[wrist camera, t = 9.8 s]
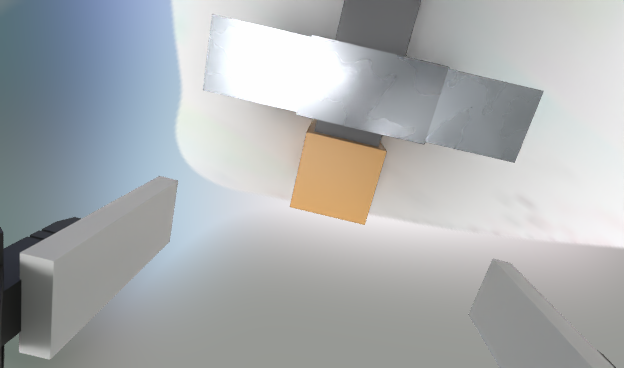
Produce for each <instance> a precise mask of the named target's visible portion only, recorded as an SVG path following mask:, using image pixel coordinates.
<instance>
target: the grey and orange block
mask: <svg viewBox="0 0 624 368" xmlns="http://www.w3.org/2000/svg"><path fill="white" fill-rule="evenodd" d="M420 3H421V0H345V1H344V5H343V9H342V14H341V18H340V22H339V27H338V31H337V35H336V39H335V40H336V41H340V42H344V43H349V44H353V45H357V46H361V47H366V48H370V49H374V50H379V51H383V52H387V53H392V54H396V55H400V56H404V57H405V54H406V51H407V48H408V44H409V41H410V37H411V34H412V30H413V27H414V23H415V20H416V17H417V13H418V10H419V6H420ZM381 137H382V134H377V133H373V132H369V131H364V130H360V129H356V128H351V127H347V126H343V125H339V124H334V123H330V122H326V121H321V120H317V119H314V120H313V121H312V123H311V125H310V127H309V129H308V131H307V133H306V137H305V142H304V146H303V151H302V155H301V159H300V164H299V168H298V173H297V177H296V182H295V186H294V191H293V195H292V199H291V204H290V207H292V208H296V209H300V210H305V211H309V212H313V213H317V214H321V215H325V216H330V217H334V218H338V219H342V220H347V221H351V222H355V223H359V224H363V225H365V222H366V219H367V216H368V212H369V209H370V206H371V202H372V199H373V196H374V192H375V189H376V186H377V182H378V179H379V176H380V172H381V169H382V166H383V162H384V159H385V155H386V152H387V151H386V149H385V148H384V146H383V145H382V143H381V142H380V140H381Z"/></svg>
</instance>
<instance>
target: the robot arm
mask: <svg viewBox="0 0 624 368" xmlns="http://www.w3.org/2000/svg"><path fill="white" fill-rule="evenodd" d="M177 185H178V180H173V179H169V178H165V177H161V176H159V177H157V178H155V179H153V180H151V181H150V182H148V183H146V184H144V185H143V186H140V187H139V188H137V189H135V190H133V191H131V192H129V193H128V194H126V195H124V196H122V197H120V198H118V199H117V200H115V201H113V202H111V203H109V204H108V205H106V206H104V207H102V208H100V209H98V210H97V211H95V212H93V213H91V214H89V215H88V216H86V217H84V218H82V219H81V218H76V217H74V218H70V219H66V220H61V221H57V222H55V223H53V224H51V225H49V226H47V227H45V228H43V229H42V231H37V232H36V233H33V234H31V235H30V237H26V238H24V239H22V240H20V241H18V242H16V243H14V244H12V245H10V246H8V247H6V248H4V249H3V231H2V229H1V227H0V368H4V344H6V343H7V342H8V341H9V340H11V339H12V338H13V337H14V336H16V335H17V334H18V333H19V352H20V353H25V354H29V355H33V356H38V357H41V358H46V359H51V358H52V357H53V356H54V355H55V354H56V353H57V352H58V351H59V350H60V349H61V348H62V347H63V346H64V345H65V344H66V343H67V342H68V341H69V340H70V339H71V338H72V337H74V335H76V333H78V331H80V330H81V329H82V328H83V327H84V326H85V325H86V324H87V323H88V322H89V321H90V320H91V319H92V318H93V317H94V316H95V315H96V314H97V313H98V312H99V311H100V310H101V309H102V308H103V307H104V306H105V305H106V304H107V303H108V302H109V301H110V300H111V299H112V298H113V297H114V296H115V295H116V294H117V293H118V292H119V291H120V290H121V289H122V288H123V287H124V286H125V285H126V284H127V283H128V282H129V281H130V280H131V279H132V278H133V277H134V276H135V275H136V274H137V273H138V272H139V271H140V270H141V269H142V268H143V267H144V266H145V265H146V264H147V263H148V262H149V261H150V260H151V259H152V258H153V257H154V256H155V255H156V254H157V253H158V252H159V251H160V250H161V249H162V248H163V247H164V246H165V245H166V244H167V243H168V242H169V241H170V235H171V228H172V219H173V213H174V206H175V199H176V192H177ZM468 315H469V316H470V318H471V320H472V322H473V323H474V325H475V327H476V328H477V330H478V331H479V333H480V335H481V337H482V339H483V340H484V342H485V344H486V345H487V347H488V349H489V350H490V352H491V354H492V356H493V357H494V359H495V360H496V362H497V364H498V366H499V367H500V368H616V367H615V366H614V365H613V364H612V363H611V362H610V361H609V360H608V359H607V358H606V357H605V356H604V355H603V354H602V353H600V352H599V351H598V350H596V349H595V348H594V347H593V346H592V345H591V344H590V343H589V342H588V341H587V340H586V339H585V338H584V337H583V335H582V334H580V332H579V331H578V330H577V329H575V328H574V326H573V325H572V324H571V323H570V322H569V321H567V319H565V317H564V316H562V314H560V312H559V311H558V310H557V309H556V308H555V307H554V306H553V305H552V304H551V303H550V302H549V301H548V300H547V299H546V298H545V297H544V296H543V295H542V294H541V293H540V292H539V291H538V290H537V289H536V288H535V287H534V286H533V285H532V284H531V283H530V282H529V281H528V280H527V279H526V278H525V277H524V276H523V275H522V274H521V273H520V272H519V271H518V270H517V269H516V268H515V267H514V266H513V265H512V264H511V263H508V262H504V261H500V260H496V259H493V260H492V262H491V264H490V266H489V268H488V271H487V273H486V276H485V278H484V280H483V282H482V285H481V287H480V289H479V291H478V294H477V296H476V298H475V300H474V303H473V305H472V307H471V310H470V312H469V314H468Z"/></svg>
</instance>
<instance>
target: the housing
mask: <svg viewBox="0 0 624 368" xmlns="http://www.w3.org/2000/svg"><path fill="white" fill-rule="evenodd" d="M203 90H204V91H209V92H213V93H217V94H221V95H226V96H230V97H234V98H239V99H243V100H247V101H252V102H256V103H260V104H264V105H269V106H273V107H277V108H282V109H286V110H290V111H295V112H296V115H300V116H304V117H309V118H313V119H317V120H321V121H326V122H330V123H334V124H339V125H343V126H347V127H351V128H356V129H360V130H364V131H369V132H373V133H377V134H382V135H386V136H390V137H394V138H399V139H403V140H407V141H412V142H416V143H420V144H425V142H428V143H432V144H436V145H441V146H445V147H449V148H454V149H458V150H462V151H466V152H471V153H475V154H479V155H484V156H488V157H492V158H497V159H501V160H505V161H509V162H514V163H515V160H516V158H517V155H518V153H519V150H520V148H521V145H522V143H523V140H524V138H525V136H526V133H527V131H528V128H529V126H530V123H531V121H532V118H533V116H534V113H535V111H536V109H537V106H538V104H539V101H540V99H541V96H542V94H543V91H541V90H537V89H533V88H528V87H524V86H520V85H516V84H511V83H507V82H503V81H498V80H494V79H490V78H485V77H481V76H477V75H473V74H468V73H464V72H460V71H455V70H451V69H449V67H447V66H443V65H439V64H435V63H430V62H426V61H422V60H417V59H413V58H409V57H404V56H400V55H396V54H392V53H387V52H383V51H379V50H374V49H370V48H366V47H361V46H357V45H353V44H349V43H344V42H340V41H336V40H331V39H327V38H323V37H318V36H314V35H312V37H309V36H305V35H301V34H296V33H292V32H288V31H283V30H279V29H275V28H270V27H266V26H262V25H258V24H253V23H249V22H245V21H240V20H236V19H232V18H227V17H223V16H219V15H215V14H212V22H211V30H210V38H209V46H208V54H207V62H206V70H205V78H204V86H203Z"/></svg>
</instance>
